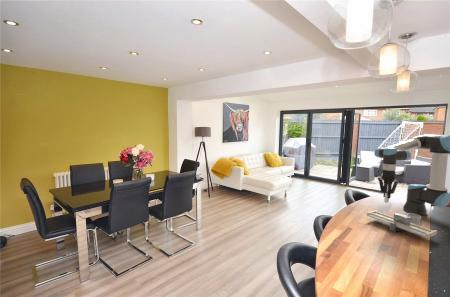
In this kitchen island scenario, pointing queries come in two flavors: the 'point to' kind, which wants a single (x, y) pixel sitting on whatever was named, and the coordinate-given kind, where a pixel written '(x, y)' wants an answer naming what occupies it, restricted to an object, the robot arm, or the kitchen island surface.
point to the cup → (414, 218)
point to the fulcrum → (394, 227)
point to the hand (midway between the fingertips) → (386, 202)
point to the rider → (402, 219)
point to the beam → (411, 227)
